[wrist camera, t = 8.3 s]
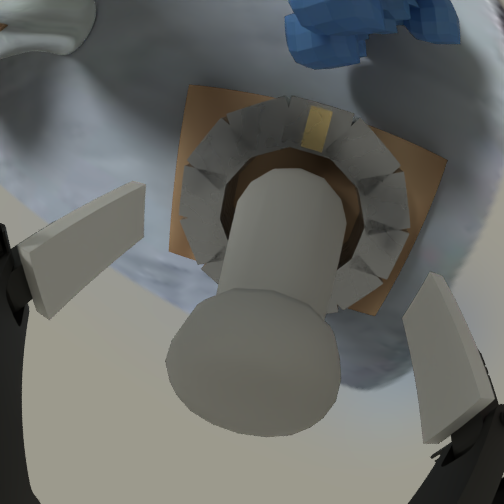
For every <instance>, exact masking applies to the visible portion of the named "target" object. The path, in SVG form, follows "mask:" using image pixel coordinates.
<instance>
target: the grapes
mask: <svg viewBox="0 0 504 504" xmlns="http://www.w3.org/2000/svg"><path fill="white" fill-rule="evenodd" d="M288 1H289V4H290V6H291V8H292V10H293V12H294V13H293V14H290V15H287V16H285V33H286V41H287V45H288V48H289V51H290V53H291V55H292V56H293V58H294V60H295V62H296V63H299V64H301V65H303V66H305V67H308V68H312V69H315V70H316V69H331V68H337V67H343V66H348V65H353V64H358V63H360V57H365V56H367V55H366V43H365V40H367V39H369V34H373V33H377V34H392V33H398V32H397V27H396V26H398V25H405V27H406V28H407V29H408V31H409V32H410V33H411V34H412V35H413V36H414V37H415V38H416V39H418V40H423V41H426V42H430V43H434V44H460V26H459V19H458V16H457V14H456V11H455V9H454V7H453V5H452V3H451V1H450V0H288Z"/></svg>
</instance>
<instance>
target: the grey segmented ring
mask: <svg viewBox="0 0 504 504" xmlns="http://www.w3.org/2000/svg"><path fill="white" fill-rule="evenodd" d="M226 115H227V117H223V118H220V119H219V120H218V122H217V123H216V124H215V125H214V126H213V128H212V129H211V130H210V131H209V132H208V134H207V135H206V136H205V137H204V139H203V140H202V141H201V142H200V144H199V145H198V146H197V147H196V149H195V150H194V151H193V152H192V154H191V155H190V156H189V158H188V159H187V161H188V162H189V164H187V165H184V172H183V180H182V189H181V197H180V207H179V215H180V216H183V218H182V219H181V220H180V223H181V225H182V228H183V230H184V233H185V235H186V238H187V240H188V242H189V245H190V247H191V250H192V252H193V254H194V257H195V259H196V261H197V264H198V265H199V264H204V266H203V267H202V268H201V269H202V270H203V271H204V272H205V273H206V274H207V275H208V276H209V277H211V278H212V279H213V280H214V281H215V282H216V283H217V284H218V285H219V280H220V276H221V271H222V266H223V262H224V257H225V253H226V249H227V244H228V240H229V235H230V231H231V227H232V222H233V218H234V214H235V208H234V205H233V203H234V198H235V193H236V188H237V183H238V178H239V174H240V173H241V172H242V171H243V170H244V169H245V168H246V167H247V166H248V165H249V163H250V162H251V161H252V160H253V159H254V158H255V157H256V156H258V155H261V154H265V153H269V152H273V151H276V150H280V149H284V148H288V147H291V148H295V149H299V150H302V151H306V152H309V153H312V154H316V155H319V156H322V157H325V158H329V159H331V160H332V161H333V162H334V163H335V164H336V165H337V167H338V168H339V169H340V170H341V171H342V172H343V173H344V174H345V175H346V176H347V177H348V179H349V180H350V181H351V182H352V183H353V184H354V185H355V189H356V194H357V199H358V204H359V210H360V211H359V214H358V217H357V219H356V222H355V225H354V227H353V230H352V232H351V235H350V237H349V240H348V241H346V242H345V243H344V244H343V245H342V249H341V254H340V259H339V263H338V268H337V272H336V276H335V281H334V285H333V289H332V293H331V297H330V301H329V305H328V309H327V313H326V314H328V313H336V312H338V306H339V307H340V308H341V309H342V310H345V309H346V308H348V307H349V306H351V305H352V304H354V303H355V302H357V301H358V300H360V299H362V298H363V297H365V296H366V295H368V294H369V293H370V292H372V291H373V290H375V289H376V288H378V287H379V286H381V285H382V284H383V281H382V278H384V279H388V277H389V275H390V273H391V271H392V269H393V267H394V265H395V263H396V261H397V259H398V257H399V255H400V253H401V251H402V249H403V247H404V244H405V242H406V240H407V238H408V236H409V232H408V231H407V228H410V216H409V207H408V198H407V190H406V183H405V176H404V172H403V171H402V170H401V169H400V168H399V167H400V166H401V165H400V163H399V162H398V161H397V160H396V158H395V157H394V156H393V155H392V153H391V152H390V151H389V150H388V148H387V147H386V146H385V145H384V144H383V143H382V141H381V140H380V139H379V138H378V137H377V136H376V134H375V133H374V132H373V131H372V130H371V129H370V128H369V126H368V125H367V124H366V123H365V122H364V121H363V120H362V119H361V118H356V117H355V118H353V117H354V113H351V112H348V111H344V110H341V109H338V108H335V107H332V106H328V105H325V104H322V103H318V102H315V101H311V100H307V99H303V98H299V97H295V96H292V97H291V99H290V98H288V97H286V96H282V97H278V98H275V99H271V100H268V101H264V102H261V103H258V104H255V105H251V106H248V107H245V108H242V109H239V110H236V111H233V112H230V113H228V114H226Z"/></svg>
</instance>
